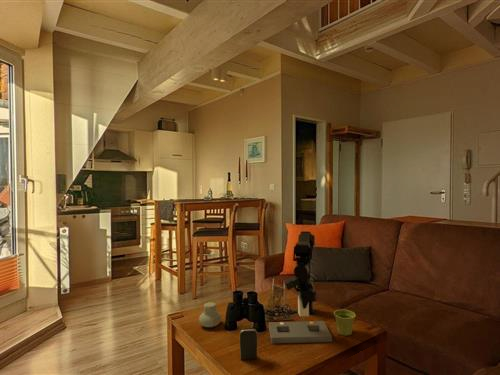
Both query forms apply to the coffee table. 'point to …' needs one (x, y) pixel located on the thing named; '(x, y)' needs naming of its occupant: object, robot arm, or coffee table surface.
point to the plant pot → (344, 321)
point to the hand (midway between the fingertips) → (303, 306)
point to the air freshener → (210, 315)
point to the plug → (300, 308)
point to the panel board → (299, 332)
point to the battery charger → (248, 343)
